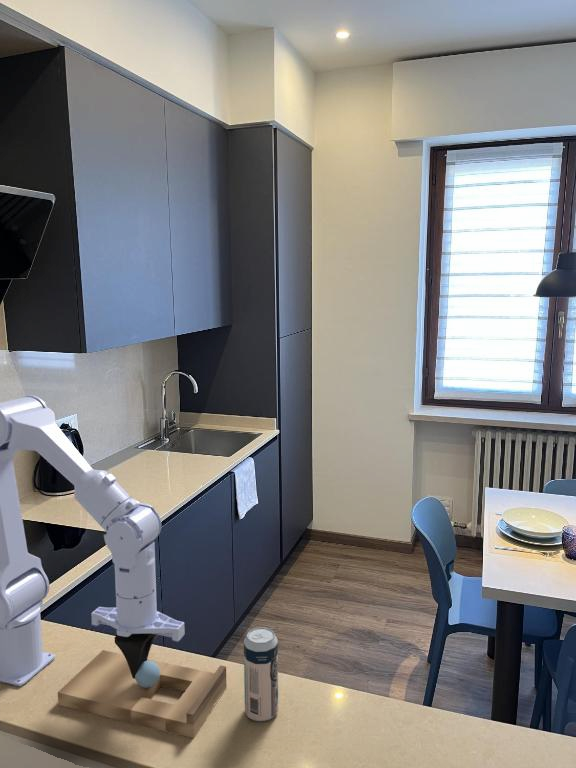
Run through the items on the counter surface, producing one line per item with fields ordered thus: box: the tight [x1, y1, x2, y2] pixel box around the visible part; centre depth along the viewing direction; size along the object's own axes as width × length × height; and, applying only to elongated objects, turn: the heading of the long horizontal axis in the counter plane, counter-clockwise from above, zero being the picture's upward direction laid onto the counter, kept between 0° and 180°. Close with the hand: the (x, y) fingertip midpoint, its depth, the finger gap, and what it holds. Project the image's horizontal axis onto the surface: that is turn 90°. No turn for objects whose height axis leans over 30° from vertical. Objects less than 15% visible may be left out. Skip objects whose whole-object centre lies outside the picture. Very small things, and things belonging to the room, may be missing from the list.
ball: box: [135, 660, 160, 688], centre depth 87 cm, size 4×4×4 cm
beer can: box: [243, 626, 279, 722], centre depth 83 cm, size 5×5×12 cm
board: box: [57, 649, 228, 739], centre depth 87 cm, size 22×11×4 cm, turn 72°
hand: (139, 674), depth 87 cm, fingers closed, pressing on ball
